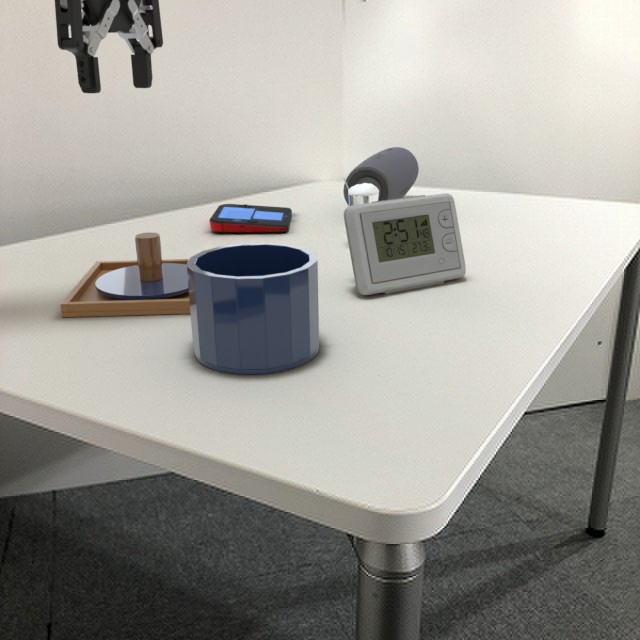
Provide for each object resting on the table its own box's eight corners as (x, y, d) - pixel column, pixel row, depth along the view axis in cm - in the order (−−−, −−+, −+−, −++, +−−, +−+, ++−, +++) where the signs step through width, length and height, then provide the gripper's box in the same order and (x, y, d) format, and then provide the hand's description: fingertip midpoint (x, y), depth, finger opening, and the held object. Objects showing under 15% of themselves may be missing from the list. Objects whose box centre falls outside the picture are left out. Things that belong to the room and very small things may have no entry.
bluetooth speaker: (373, 195, 151) (373, 143, 148) (420, 197, 149) (422, 144, 145) (339, 221, 131) (339, 162, 128) (393, 225, 128) (394, 164, 125)
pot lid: (84, 306, 91) (77, 251, 89) (109, 272, 104) (103, 223, 101) (200, 302, 91) (196, 248, 89) (211, 269, 104) (208, 221, 102)
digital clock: (355, 300, 93) (355, 212, 89) (333, 279, 101) (332, 198, 97) (479, 287, 97) (483, 202, 93) (448, 267, 105) (451, 189, 101)
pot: (187, 376, 73) (179, 280, 70) (201, 328, 85) (195, 244, 82) (321, 372, 74) (319, 276, 70) (316, 325, 85) (315, 241, 82)
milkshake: (348, 239, 120) (348, 174, 117) (381, 241, 118) (382, 176, 115) (339, 246, 116) (338, 179, 113) (373, 249, 114) (374, 181, 111)
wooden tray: (62, 317, 89) (60, 304, 89) (97, 272, 106) (96, 261, 105) (215, 313, 90) (215, 300, 89) (227, 269, 106) (226, 257, 106)
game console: (287, 233, 124) (287, 220, 123) (207, 235, 124) (206, 221, 123) (292, 213, 137) (292, 201, 137) (220, 214, 138) (219, 202, 137)
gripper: (121, -61, 90) (133, 86, 95) (25, -75, 78) (45, 93, 83) (174, -65, 86) (183, 87, 92) (81, -80, 75) (99, 96, 80)
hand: (118, 90), depth 88 cm, fingers open, 8 cm apart
